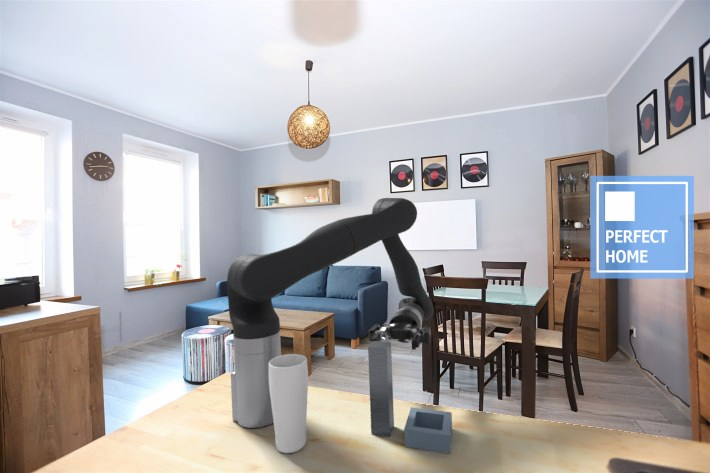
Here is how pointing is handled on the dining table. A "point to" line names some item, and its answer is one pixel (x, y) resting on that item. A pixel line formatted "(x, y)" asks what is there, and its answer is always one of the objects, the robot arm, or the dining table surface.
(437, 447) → the socket block
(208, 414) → the dining table surface
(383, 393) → the square bit
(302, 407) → the drinking glass
